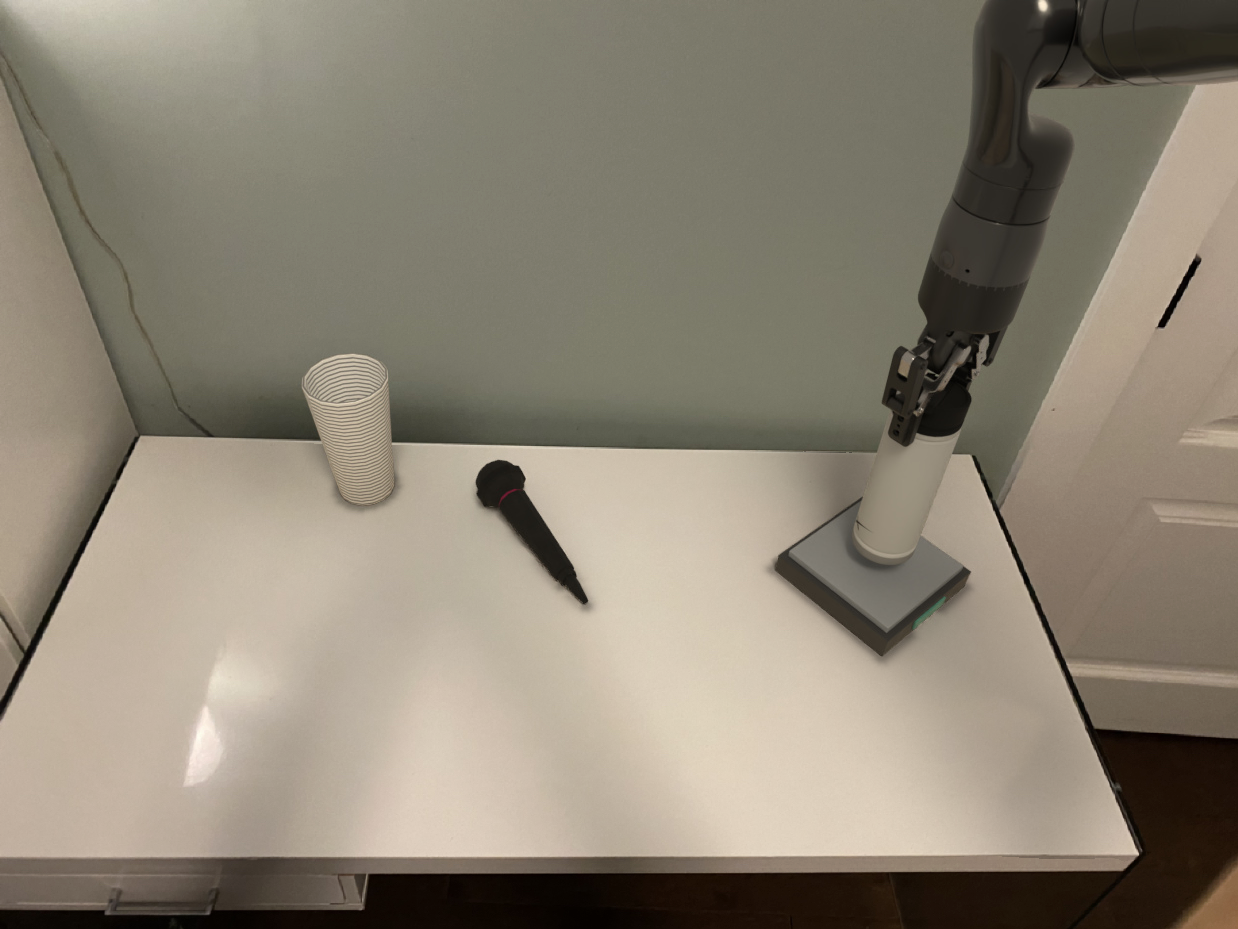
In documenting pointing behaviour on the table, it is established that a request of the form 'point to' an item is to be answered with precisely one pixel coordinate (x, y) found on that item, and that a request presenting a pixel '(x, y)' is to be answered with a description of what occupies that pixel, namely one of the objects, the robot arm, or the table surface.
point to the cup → (353, 423)
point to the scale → (870, 582)
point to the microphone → (526, 519)
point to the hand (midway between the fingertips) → (924, 423)
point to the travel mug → (909, 479)
